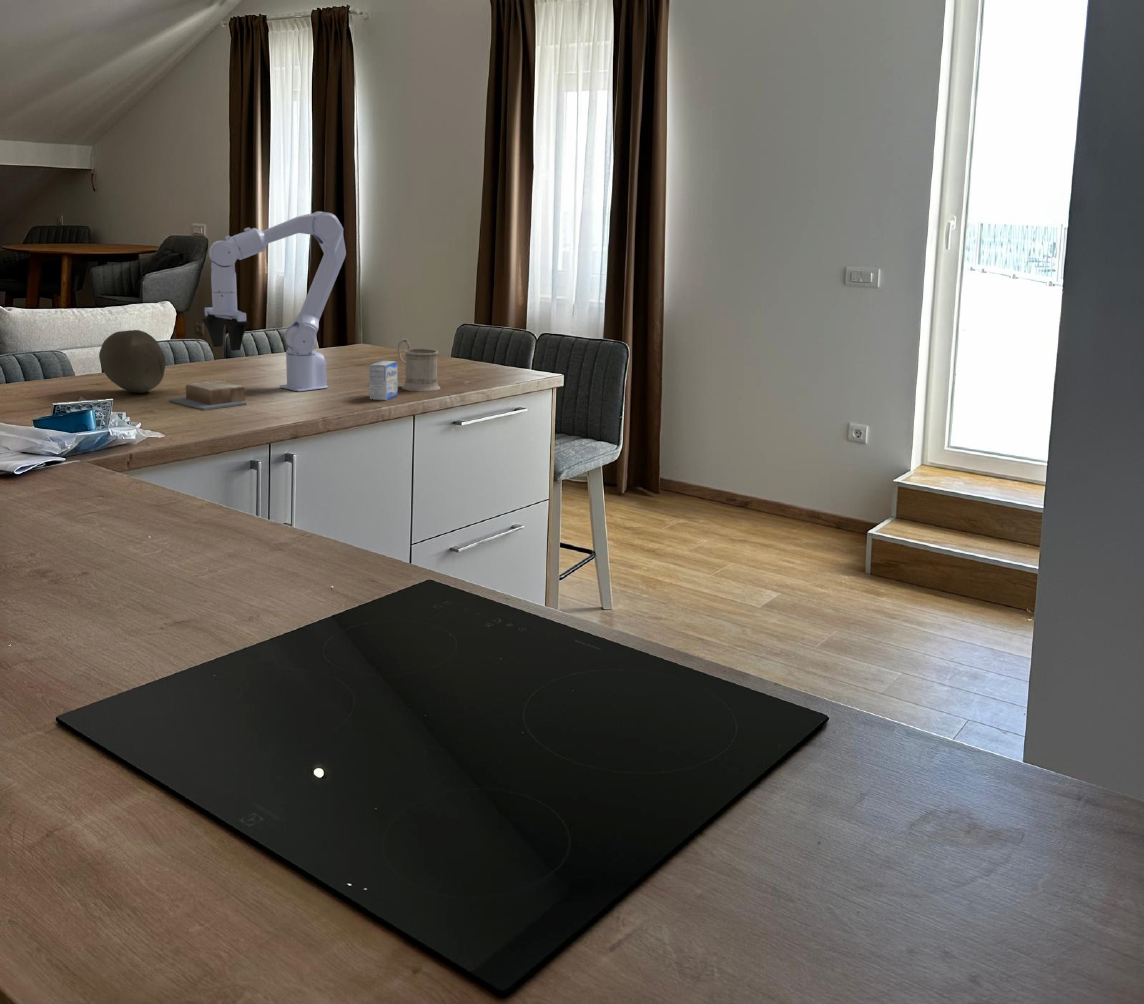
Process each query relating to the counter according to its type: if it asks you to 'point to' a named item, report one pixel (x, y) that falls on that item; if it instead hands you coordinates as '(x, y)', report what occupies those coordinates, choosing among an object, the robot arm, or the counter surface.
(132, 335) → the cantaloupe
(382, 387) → the medicine box
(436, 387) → the mug
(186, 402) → the mat
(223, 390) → the brown wooden block
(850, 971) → the counter surface
